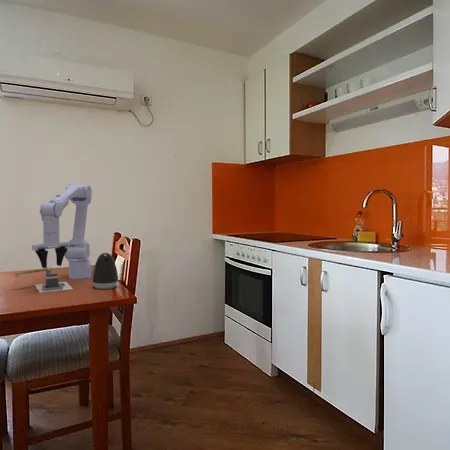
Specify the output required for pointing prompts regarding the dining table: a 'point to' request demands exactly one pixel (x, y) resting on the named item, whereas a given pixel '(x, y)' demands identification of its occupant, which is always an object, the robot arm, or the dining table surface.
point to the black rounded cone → (105, 272)
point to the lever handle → (31, 271)
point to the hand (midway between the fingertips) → (51, 266)
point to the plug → (51, 280)
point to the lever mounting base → (43, 287)
